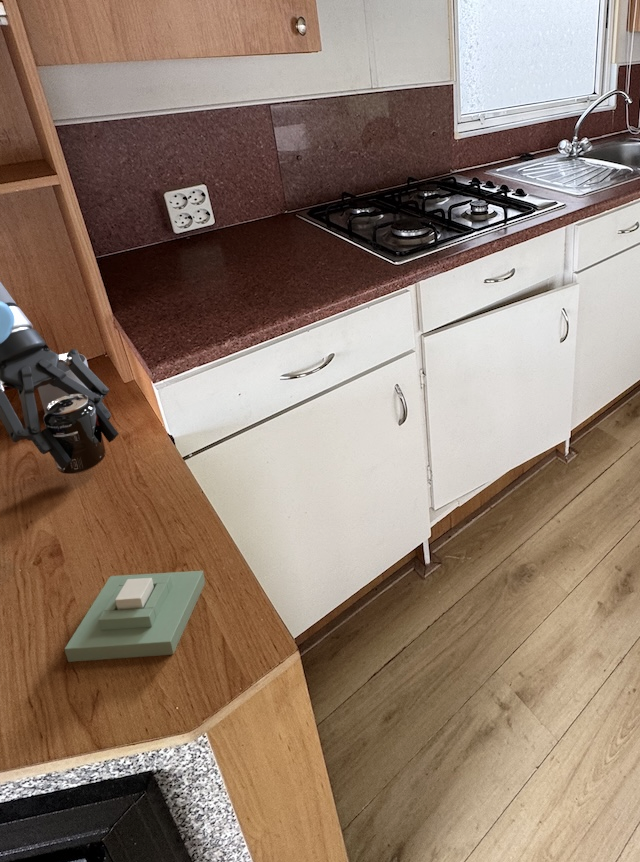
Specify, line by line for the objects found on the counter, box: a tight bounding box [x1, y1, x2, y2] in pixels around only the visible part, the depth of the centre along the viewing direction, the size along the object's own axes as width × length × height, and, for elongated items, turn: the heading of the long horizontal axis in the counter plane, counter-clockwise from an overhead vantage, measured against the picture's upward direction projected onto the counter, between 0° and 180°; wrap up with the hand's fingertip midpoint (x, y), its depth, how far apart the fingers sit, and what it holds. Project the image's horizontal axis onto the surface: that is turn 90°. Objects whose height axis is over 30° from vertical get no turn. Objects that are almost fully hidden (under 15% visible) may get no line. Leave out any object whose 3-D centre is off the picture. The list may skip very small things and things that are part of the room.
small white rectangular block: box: [115, 578, 154, 610], centre depth 72 cm, size 3×3×2 cm
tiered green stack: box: [63, 570, 206, 663], centre depth 73 cm, size 12×10×4 cm
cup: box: [37, 353, 89, 414], centre depth 114 cm, size 8×8×10 cm
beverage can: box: [42, 394, 107, 475], centre depth 95 cm, size 7×7×12 cm
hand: (91, 450), depth 95 cm, fingers closed on beverage can, 7 cm apart
